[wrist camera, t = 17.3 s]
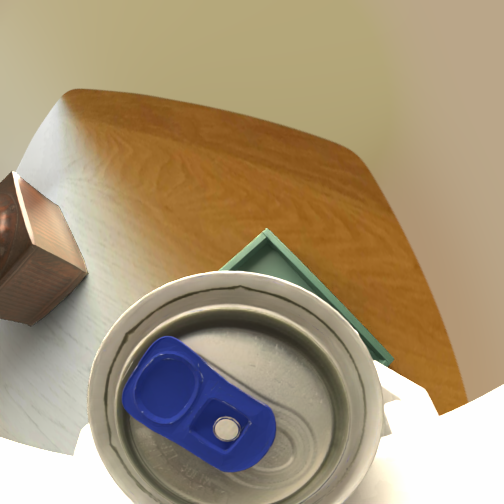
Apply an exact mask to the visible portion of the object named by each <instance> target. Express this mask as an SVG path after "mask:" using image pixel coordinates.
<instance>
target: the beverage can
mask: <svg viewBox="0 0 504 504" xmlns="http://www.w3.org/2000/svg"><path fill="white" fill-rule="evenodd" d="M87 412H88V420H89V426H90V431H91V435H92V438H93V441H94V444H95V447H96V450H97V452H98V455H99V457H100V459H101V461H102V463H103V465H104V466H105V468H106V470H107V472H108V473H109V475H110V476H111V478H112V479H113V481H114V482H115V483H116V484H117V486H118V487H119V488H120V489H121V490H122V492H123V493H124V494H125V495H126V496H127V497H128V498H129V499H130V500H131V501H132V502H133V503H134V504H343V503H344V502H345V501H346V500H347V499H348V498H349V497H350V496H351V495H352V494H353V492H354V491H355V490H356V489H357V488H358V486H359V485H360V483H361V482H362V481H363V479H364V478H365V476H366V474H367V472H368V471H369V469H370V467H371V465H372V463H373V460H374V458H375V456H376V453H377V450H378V447H379V443H380V440H381V435H382V429H383V420H384V402H383V394H382V387H381V382H380V379H379V375H378V372H377V369H376V367H375V364H374V361H373V359H372V357H371V355H370V353H369V351H368V349H367V347H366V345H365V344H364V342H363V341H362V339H361V338H360V336H359V335H358V333H357V332H356V331H355V330H354V328H353V327H352V326H351V325H350V323H349V322H348V321H347V320H346V319H345V318H344V317H343V316H342V315H341V314H340V313H339V312H338V311H336V310H335V309H334V308H333V307H332V306H330V305H329V304H328V303H327V302H325V301H324V300H322V299H321V298H319V297H318V296H316V295H315V294H313V293H311V292H309V291H307V290H306V289H304V288H302V287H300V286H297V285H295V284H293V283H290V282H288V281H285V280H282V279H279V278H275V277H272V276H268V275H263V274H258V273H252V272H243V271H218V272H208V273H202V274H196V275H192V276H189V277H185V278H181V279H179V280H176V281H173V282H170V283H168V284H166V285H164V286H162V287H160V288H158V289H156V290H154V291H152V292H151V293H149V294H147V295H146V296H144V297H143V298H141V299H140V300H139V301H137V302H136V303H135V304H134V305H132V306H131V307H130V308H129V309H128V310H127V311H126V312H125V313H124V314H123V315H122V316H121V317H120V318H119V319H118V320H117V321H116V323H115V324H114V325H113V326H112V328H111V329H110V331H109V332H108V334H107V335H106V336H105V338H104V340H103V342H102V344H101V346H100V347H99V350H98V352H97V354H96V357H95V359H94V362H93V366H92V369H91V372H90V378H89V383H88V394H87Z"/></svg>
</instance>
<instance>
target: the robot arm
mask: <svg viewBox="0 0 504 504" xmlns="http://www.w3.org/2000/svg"><path fill="white" fill-rule="evenodd" d="M355 331H356V330H355ZM356 332H357V331H356ZM357 333H358V332H357ZM358 335H359V334H358ZM374 364H375V367H376V369H377V372H378V375H379V379H380V382H381V387H382V394H383V402H384V420H383V429H382V435H381V440H380V443H379V447H378V450H377V453H376V456H375V458H374V460H373V463H372V465H371V467H370V469H369V471H368V472H367V474H366V476H365V478H364V479H363V481H362V482H361V483H360V485H359V486H358V488H357V489H356V490H355V491H354V492H353V494H352V495H351V496H350V497H349V498H348V499H347V500H346V501H345V502H344V503H343V504H504V385H502V386H500V387H498V388H497V389H495V390H493V391H491V392H489V393H487V394H486V395H484V396H482V397H480V398H478V399H476V400H474V401H472V402H470V403H468V404H466V405H464V406H462V407H459V408H457V409H455V410H453V411H451V412H448V413H446V414H444V415H441V416H439V415H438V413H437V411H436V409H435V407H434V405H433V403H432V401H431V399H430V397H429V395H428V393H427V392H426V390H425V389H424V388H422V387H420V386H418V385H417V384H415V383H413V382H411V381H410V380H408V379H406V378H404V377H403V376H401V375H399V374H398V373H396V372H394V371H392V370H391V369H389V368H387V367H385V366H384V365H382V364H380V363H379V362H377V361H374ZM0 504H134V503H133V502H132V501H131V500H130V499H129V498H128V497H127V496H126V495H125V494H124V493H123V492H122V490H121V489H120V488H119V487H118V486H117V484H116V483H115V482H114V481H113V479H112V478H111V476H110V475H109V473H108V472H107V470H106V468H105V466H104V465H103V463H102V461H101V459H100V457H99V455H98V452H97V450H96V447H95V444H94V441H93V438H92V435H91V431H90V426H89V423H88V424H87V425H86V426H85V427H84V428H83V429H82V430H81V432H80V436H79V439H78V442H77V446H76V449H75V452H74V456H69V455H64V454H59V453H55V452H50V451H46V450H42V449H38V448H34V447H31V446H27V445H23V444H20V443H17V442H13V441H10V440H7V439H4V438H1V437H0Z"/></svg>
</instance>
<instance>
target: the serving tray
mask: <svg viewBox="0 0 504 504" xmlns="http://www.w3.org/2000/svg"><path fill="white" fill-rule="evenodd" d="M219 271H243V272H252V273H258V274H263V275H268V276H272V277H275V278H279V279H282V280H285V281H288V282H290V283H293V284H295V285H297V286H300V287H302V288H304V289H306V290H307V291H309V292H311V293H313V294H315V295H316V296H318V297H319V298H321V299H322V300H324V301H325V302H327V303H328V304H329V305H330V306H332V307H333V308H334V309H335V310H336V311H338V312H339V313H340V314H341V315H342V316H343V317H344V318H345V319H346V320H347V321H348V322H349V323H350V325H351V326H352V327H353V328H354V330H356V331H357V332H358V334H359V336H360V338H361V339H362V341H363V342H364V344H365V345H366V347H367V349H368V351H369V353H370V355H371V357H372V359H373V361H377V362H379V363H380V364H382V365H384V366H385V367H388V366H389V364H391V363H392V362H393V361H394V358H393V357H392V356H391V355H390V354H389V353H388V351H387V350H386V349H385V348H384V347H383V346H382V345H381V344H380V343H379V342H378V341H377V340H376V339H375V338H374V337H373V335H372V334H371V333H370V332H369V331H368V330H367V329H366V328H365V327H364V326H363V325H362V324H361V323H360V322H359V321H358V320H357V319H356V318H355V317H354V315H353V314H352V313H351V312H350V311H349V310H348V309H347V308H346V307H345V306H344V305H343V304H342V303H341V302H340V301H339V300H338V299H337V298H336V297H335V296H334V295H333V294H332V293H331V292H330V291H329V290H328V289H327V288H326V287H325V285H324V284H323V283H322V282H321V281H320V280H319V279H318V278H317V277H316V276H315V275H314V274H313V273H312V272H311V271H310V270H309V269H308V268H307V267H306V266H305V265H304V264H303V263H302V262H301V261H300V260H299V259H298V258H297V257H296V256H295V255H294V254H293V253H292V252H291V251H290V250H289V249H288V248H287V247H286V246H285V245H284V244H283V243H282V242H281V241H280V240H279V239H278V238H277V237H276V236H275V235H274V234H273V233H272V232H271V231H270V230H269V229H268V228H267V229H265V230H264V231H263V232H262V233H261V234H260V235H259V236H257V237H256V238H255V239H254V240H253V241H252V242H251V243H249V244H248V245H247V246H246V247H245V248H244V249H243V250H241V251H240V252H239V253H238V254H237V255H236V256H235V257H233V258H232V259H231V260H230V261H229V262H228V263H227V264H226V265H224V266H223V267H222V268H221V269H220V270H219Z"/></svg>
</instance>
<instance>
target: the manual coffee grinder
mask: <svg viewBox="0 0 504 504" xmlns="http://www.w3.org/2000/svg"><path fill="white" fill-rule="evenodd" d="M87 274H88V272H87V268H86V265H85V261H84V259H83V256H82V254H81V252H80V250H79V248H78V245H77V243H76V241H75V239H74V237H73V235H72V232H71V230H70V228H69V226H68V224H67V222H66V220H65V218H64V216H63V214H62V212H61V210H60V208H59V206H58V205H56V204H54V203H53V202H52V201H50V200H49V199H48V198H46V197H45V196H44V195H42V194H41V193H40V192H39V191H37V190H36V189H35V188H34V187H32V186H31V185H30V184H29V183H27V182H26V181H25V180H24V179H22V178H21V177H20V176H19V175H18V174H17V173H16V172H13V171H12V172H11V173H10V174H9V175H8V176H7V177H6V178H5V179H4V180H3V181H2V182H1V183H0V319H4V320H9V321H14V322H18V323H23V324H27V325H29V326H32V325H34V324H35V323H36V322H38V321H39V320H41V319H42V318H44V317H45V316H46V315H47V314H48V313H49V312H50V311H52V310H53V309H54V308H55V307H56V306H57V305H58V304H59V303H60V302H61V301H62V300H63V299H65V298H66V297H67V296H68V295H69V294H70V293H71V292H72V291H73V290H74V289H75V288H76V286H77V285H78V284H79V283H80V282H81V281H82V279H83V278H84V277H85V276H86V275H87Z"/></svg>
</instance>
